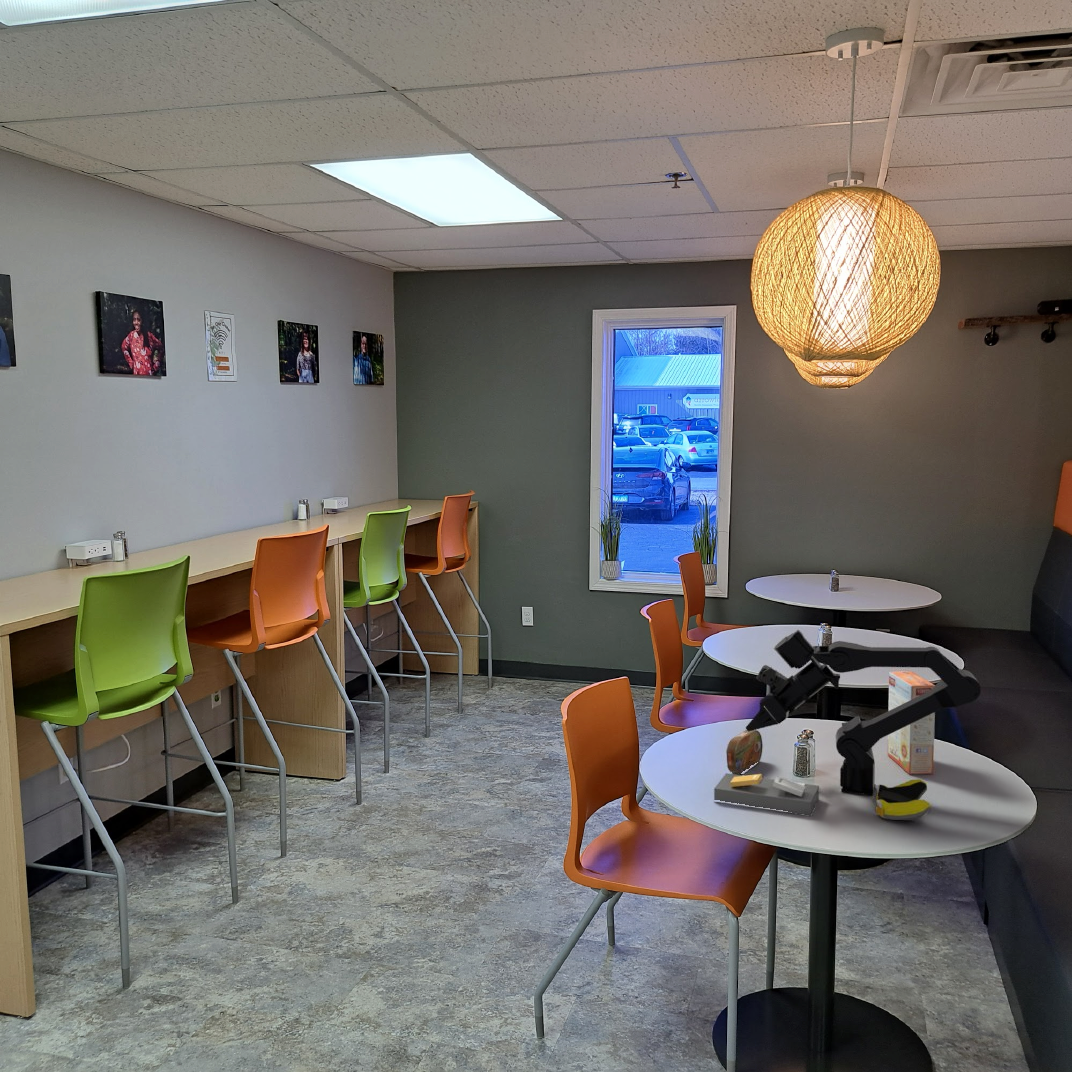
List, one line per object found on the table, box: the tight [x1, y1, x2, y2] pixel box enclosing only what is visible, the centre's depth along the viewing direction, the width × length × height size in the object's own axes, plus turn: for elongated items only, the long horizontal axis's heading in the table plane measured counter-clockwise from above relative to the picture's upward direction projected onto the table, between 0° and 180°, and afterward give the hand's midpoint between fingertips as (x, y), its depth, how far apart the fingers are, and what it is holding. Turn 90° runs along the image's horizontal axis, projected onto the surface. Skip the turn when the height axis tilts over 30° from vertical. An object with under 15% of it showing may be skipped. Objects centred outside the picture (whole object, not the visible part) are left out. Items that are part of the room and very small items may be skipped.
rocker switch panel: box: [713, 773, 820, 817], centre depth 199 cm, size 20×10×4 cm, turn 64°
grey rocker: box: [773, 775, 805, 797], centre depth 195 cm, size 6×4×1 cm, turn 64°
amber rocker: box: [730, 773, 763, 787], centre depth 199 cm, size 6×4×1 cm, turn 65°
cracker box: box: [887, 670, 936, 775], centre depth 218 cm, size 14×6×21 cm, turn 179°
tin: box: [726, 729, 764, 775], centre depth 218 cm, size 15×3×8 cm, turn 143°
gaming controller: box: [875, 778, 931, 821], centre depth 191 cm, size 15×6×10 cm
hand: (750, 726), depth 209 cm, fingers open, 9 cm apart
